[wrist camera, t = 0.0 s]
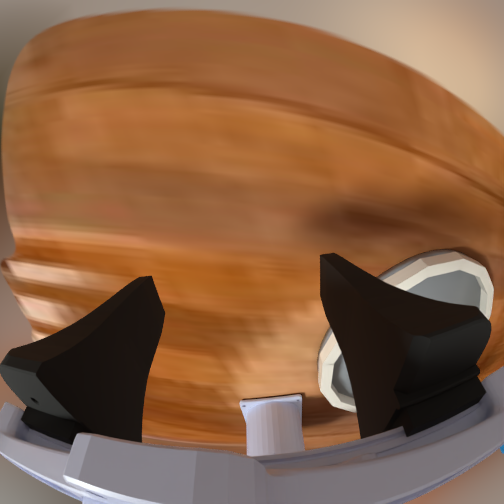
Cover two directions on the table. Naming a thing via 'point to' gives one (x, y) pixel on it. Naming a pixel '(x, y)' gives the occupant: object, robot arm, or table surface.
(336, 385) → the groove tray
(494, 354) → the table surface
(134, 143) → the table surface
